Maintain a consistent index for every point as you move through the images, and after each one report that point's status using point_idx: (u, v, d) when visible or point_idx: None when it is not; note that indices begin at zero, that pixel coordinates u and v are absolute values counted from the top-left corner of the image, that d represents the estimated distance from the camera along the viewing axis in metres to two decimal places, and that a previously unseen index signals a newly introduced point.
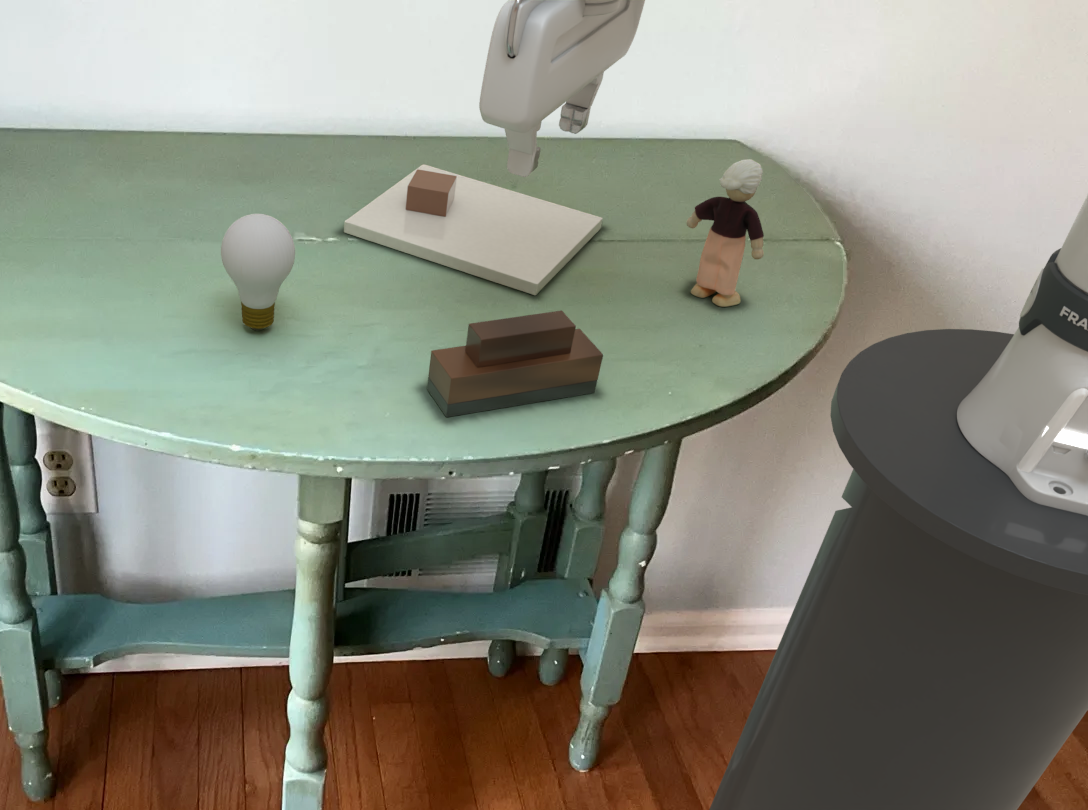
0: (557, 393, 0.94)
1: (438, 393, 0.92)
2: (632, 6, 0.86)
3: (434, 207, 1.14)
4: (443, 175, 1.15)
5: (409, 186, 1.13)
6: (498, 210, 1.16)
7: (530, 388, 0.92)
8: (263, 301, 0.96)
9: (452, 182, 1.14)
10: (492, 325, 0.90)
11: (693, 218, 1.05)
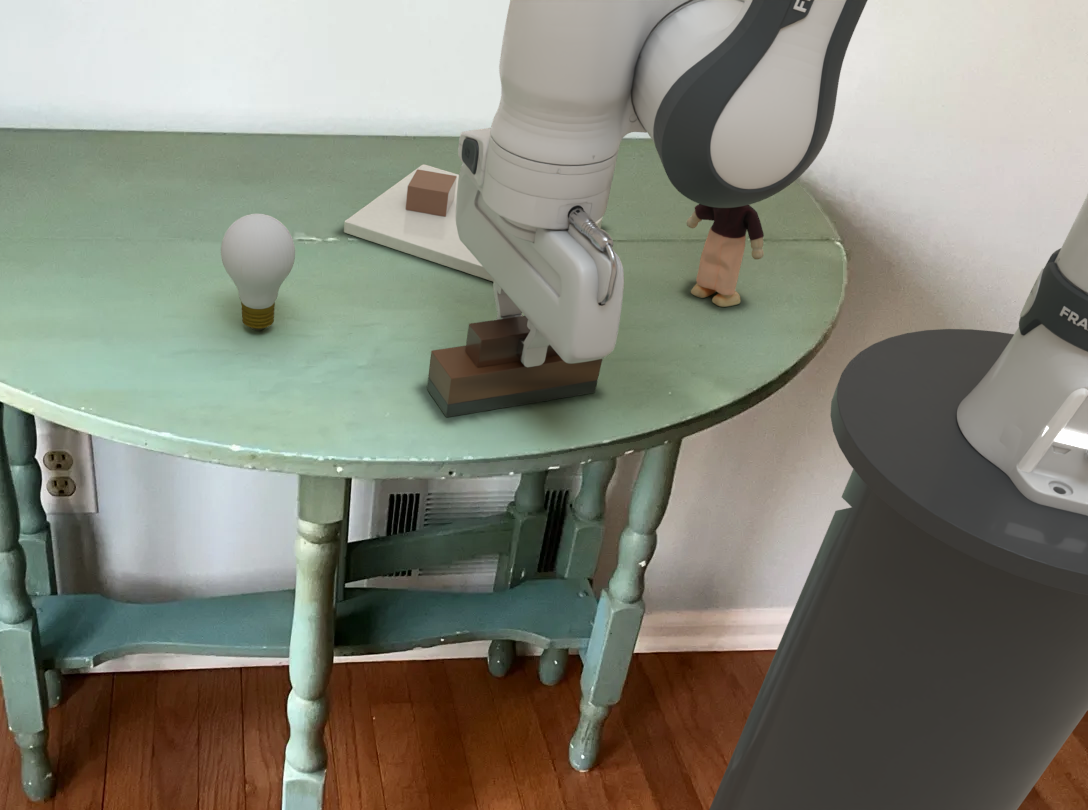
0: (557, 393, 0.94)
1: (438, 393, 0.92)
2: None
3: (434, 207, 1.14)
4: (443, 175, 1.15)
5: (409, 186, 1.13)
6: None
7: (530, 388, 0.92)
8: (263, 301, 0.96)
9: (452, 182, 1.14)
10: (492, 325, 0.90)
11: (693, 218, 1.05)
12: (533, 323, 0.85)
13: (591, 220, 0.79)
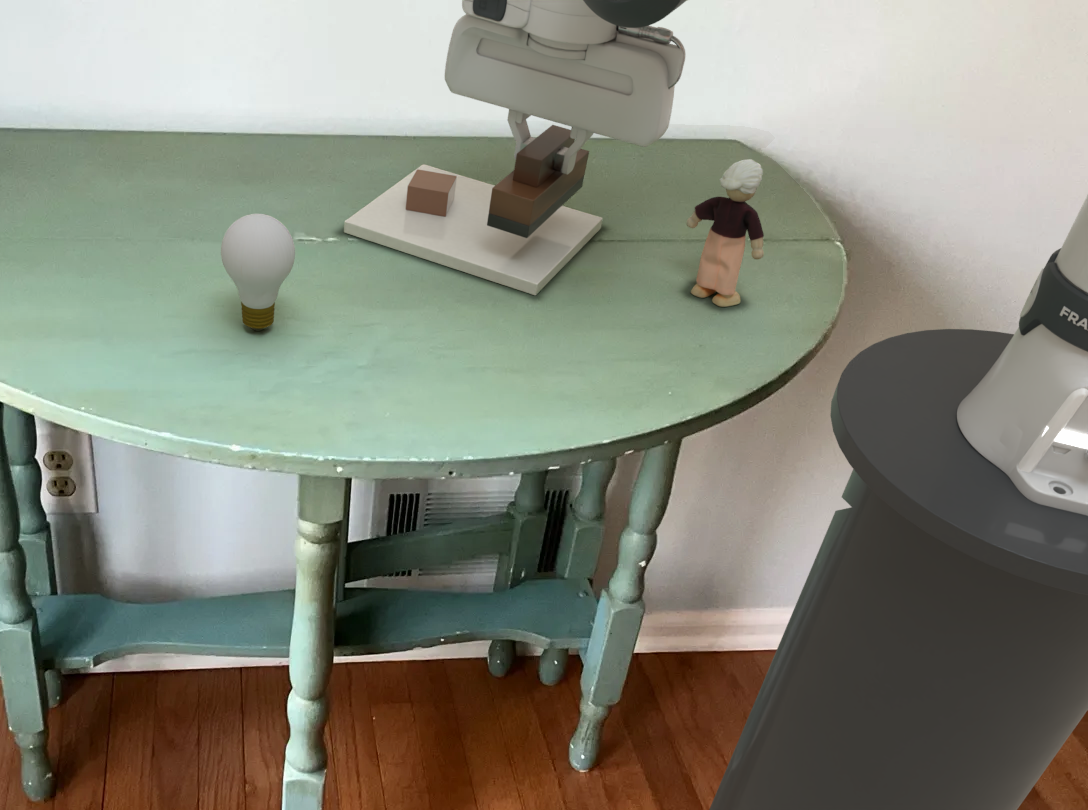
0: (569, 194, 1.11)
1: (510, 222, 1.05)
2: None
3: (434, 207, 1.14)
4: (443, 175, 1.15)
5: (409, 186, 1.13)
6: None
7: (560, 195, 1.09)
8: (263, 301, 0.96)
9: (452, 182, 1.14)
10: (532, 149, 1.05)
11: (693, 218, 1.05)
12: (591, 129, 1.02)
13: None
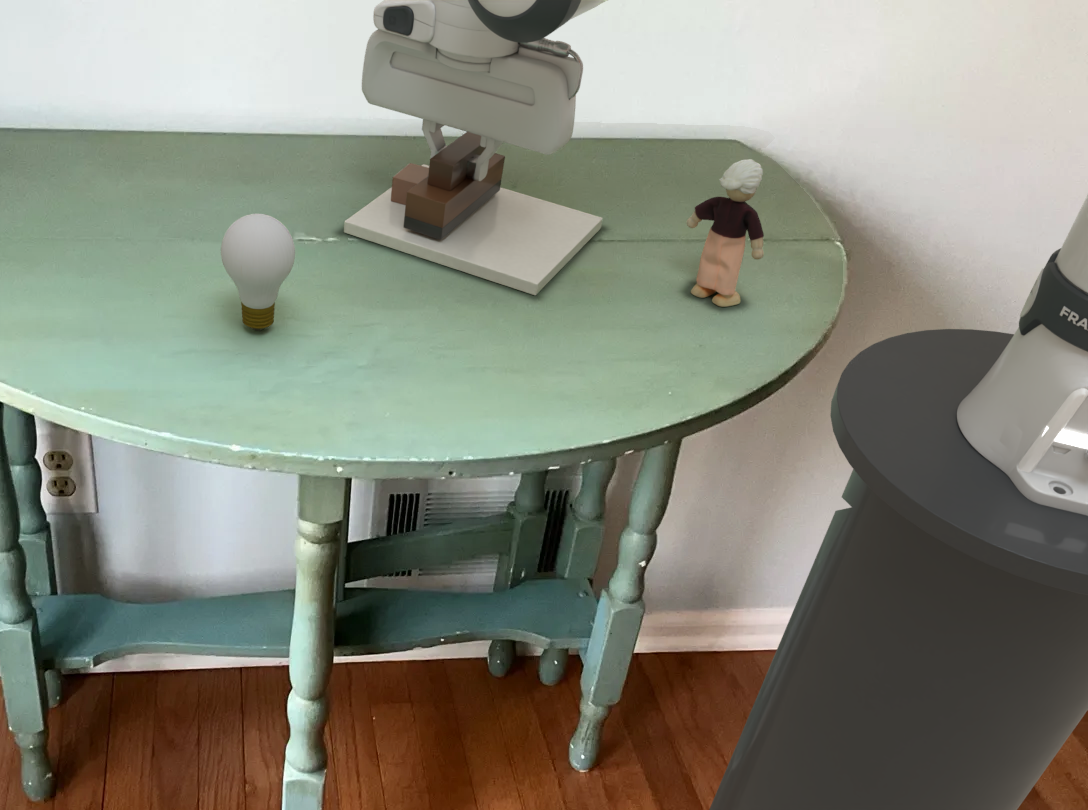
0: (485, 198, 1.16)
1: (424, 224, 1.10)
2: None
3: None
4: None
5: (394, 178, 1.14)
6: (498, 210, 1.16)
7: (475, 198, 1.13)
8: (263, 301, 0.96)
9: None
10: (445, 154, 1.09)
11: (693, 218, 1.05)
12: (499, 137, 1.06)
13: (542, 37, 1.01)
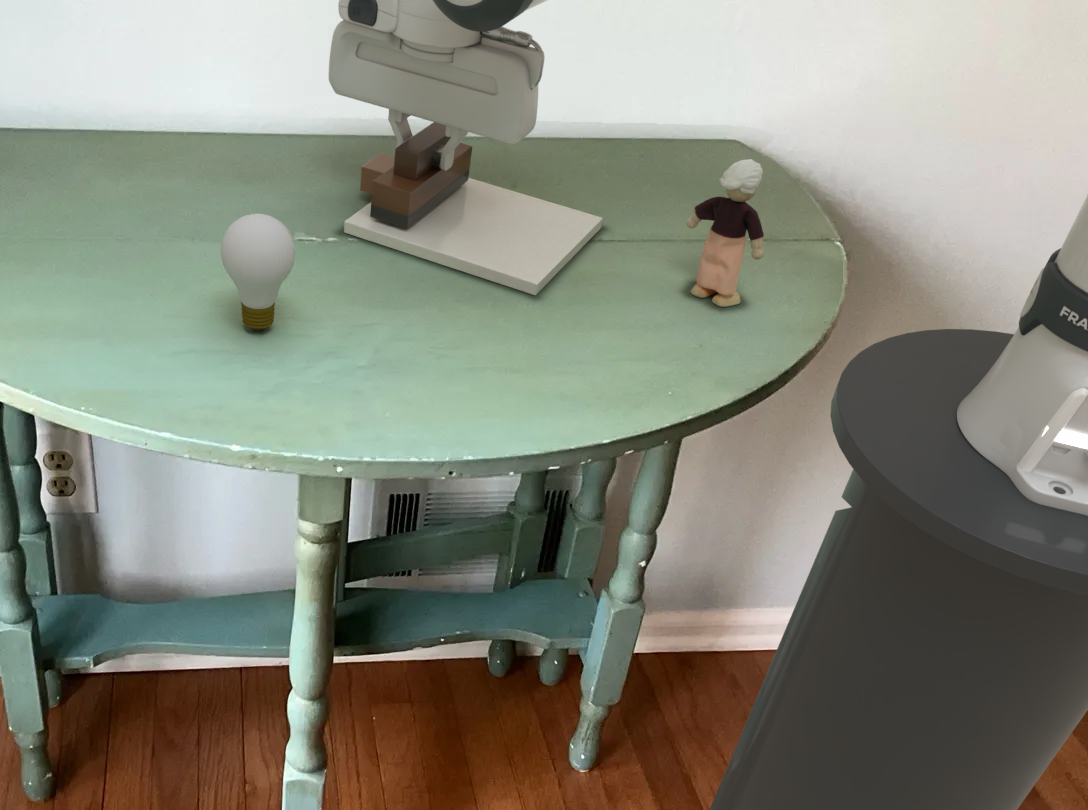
0: (453, 187, 1.17)
1: (390, 213, 1.11)
2: None
3: None
4: None
5: (363, 167, 1.16)
6: (498, 210, 1.16)
7: (442, 188, 1.15)
8: (263, 301, 0.96)
9: None
10: (411, 144, 1.10)
11: (693, 218, 1.05)
12: (463, 127, 1.08)
13: (504, 27, 1.02)
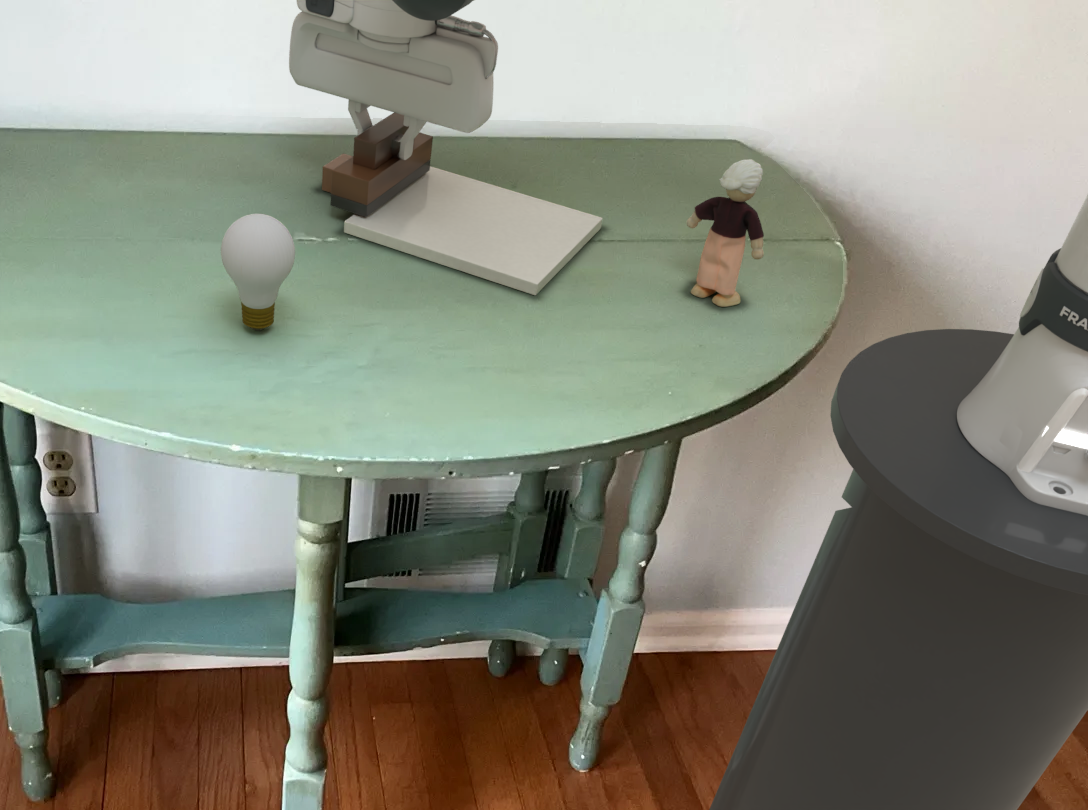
0: (414, 177, 1.18)
1: (350, 201, 1.12)
2: None
3: None
4: None
5: (324, 167, 1.18)
6: (498, 210, 1.16)
7: (402, 177, 1.16)
8: (263, 301, 0.96)
9: None
10: (370, 134, 1.12)
11: (693, 218, 1.05)
12: (420, 117, 1.09)
13: (458, 18, 1.04)
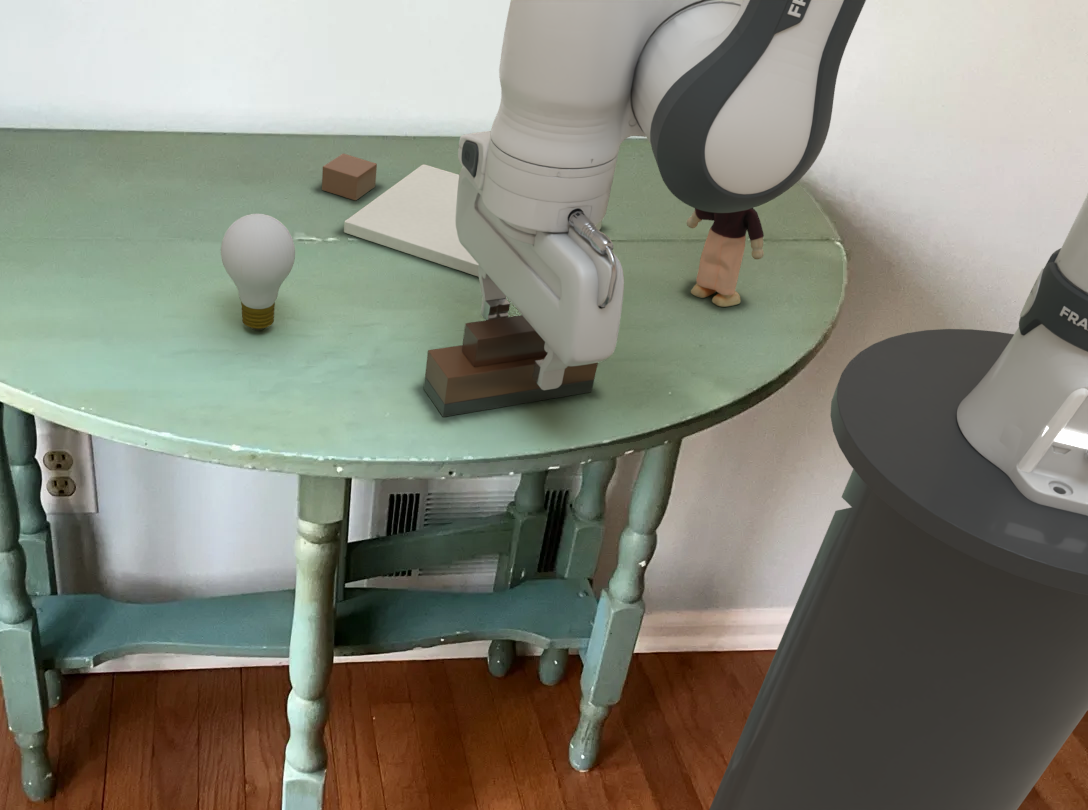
0: (553, 393, 0.94)
1: (435, 393, 0.92)
2: None
3: (345, 190, 1.18)
4: (364, 161, 1.19)
5: (324, 167, 1.18)
6: None
7: (527, 388, 0.92)
8: (263, 301, 0.96)
9: (368, 168, 1.18)
10: (488, 325, 0.90)
11: (693, 218, 1.05)
12: (533, 326, 0.85)
13: (591, 223, 0.79)
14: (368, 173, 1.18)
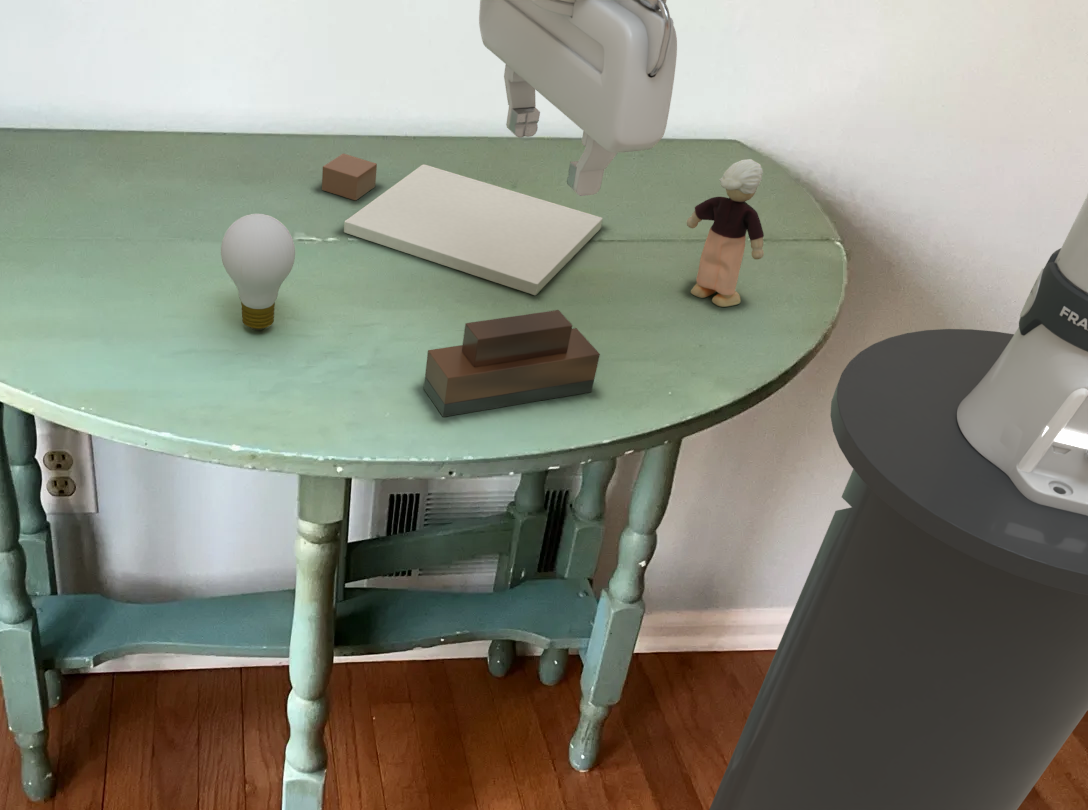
0: (553, 393, 0.94)
1: (435, 393, 0.92)
2: None
3: (345, 190, 1.18)
4: (364, 161, 1.19)
5: (324, 167, 1.18)
6: (498, 210, 1.16)
7: (527, 388, 0.92)
8: (263, 301, 0.96)
9: (368, 168, 1.18)
10: (488, 325, 0.90)
11: (693, 218, 1.05)
12: (570, 115, 0.75)
13: None
14: (368, 173, 1.18)
